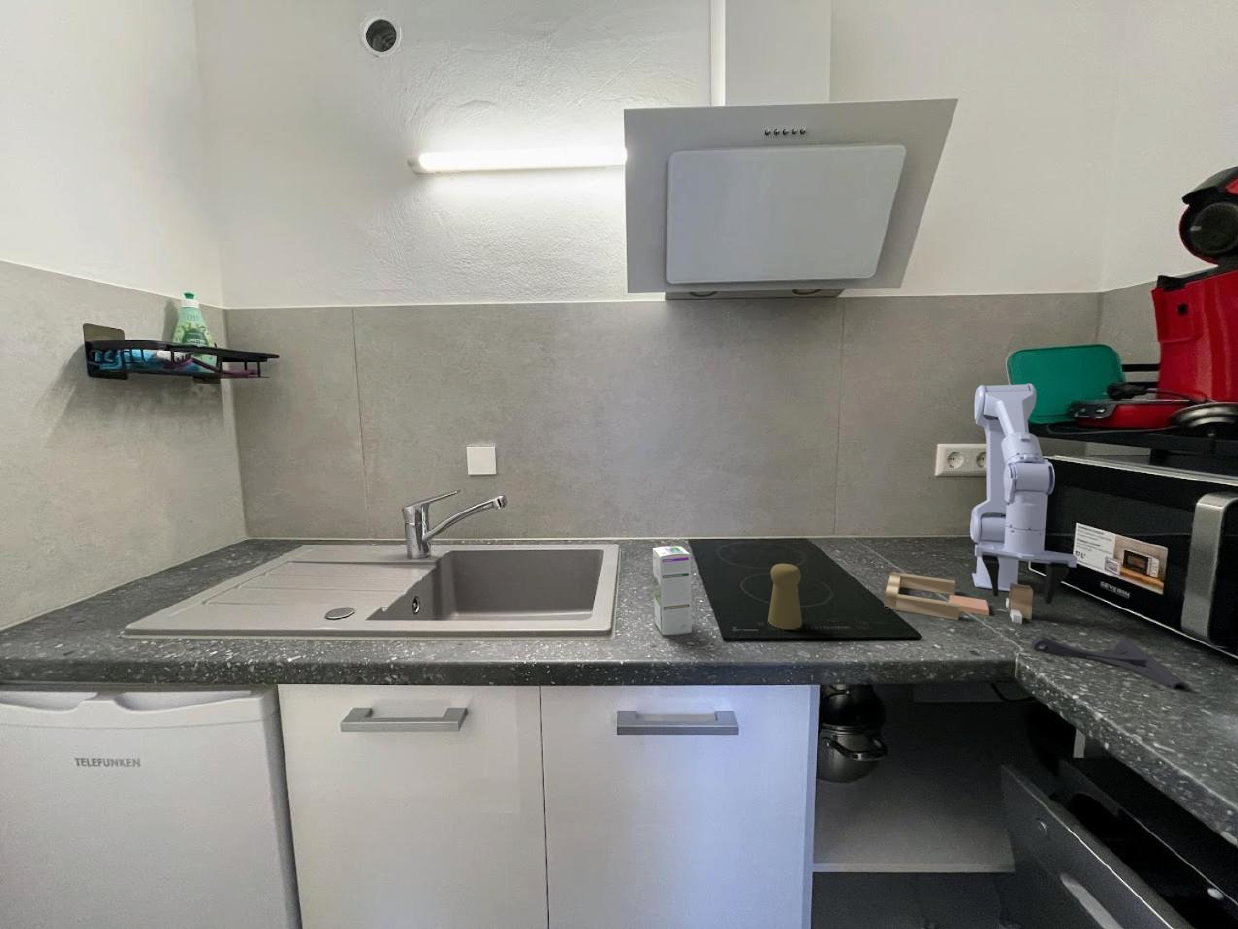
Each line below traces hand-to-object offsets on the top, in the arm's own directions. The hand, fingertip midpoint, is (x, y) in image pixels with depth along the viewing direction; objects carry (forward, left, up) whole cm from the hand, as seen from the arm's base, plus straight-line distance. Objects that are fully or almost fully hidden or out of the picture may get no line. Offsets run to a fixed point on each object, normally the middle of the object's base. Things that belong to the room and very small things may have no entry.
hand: (1020, 598), depth 93 cm
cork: (+26, -37, -3) cm, 45 cm away
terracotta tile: (0, -8, -4) cm, 9 cm away
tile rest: (0, -17, -3) cm, 17 cm away
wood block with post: (0, -1, -3) cm, 3 cm away
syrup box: (+38, -54, -3) cm, 66 cm away
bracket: (+15, +7, -4) cm, 17 cm away
